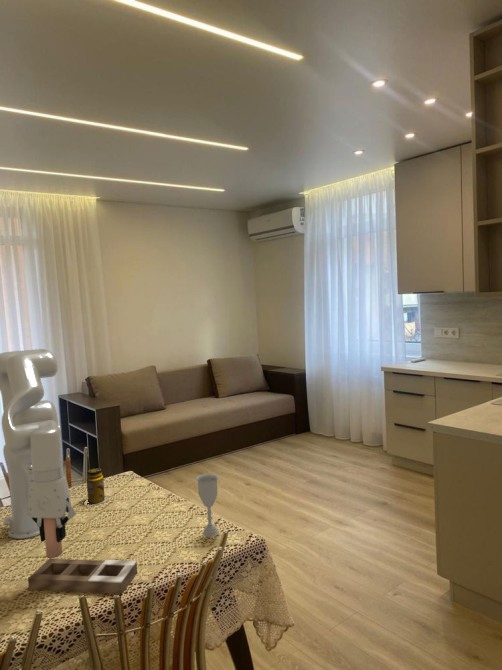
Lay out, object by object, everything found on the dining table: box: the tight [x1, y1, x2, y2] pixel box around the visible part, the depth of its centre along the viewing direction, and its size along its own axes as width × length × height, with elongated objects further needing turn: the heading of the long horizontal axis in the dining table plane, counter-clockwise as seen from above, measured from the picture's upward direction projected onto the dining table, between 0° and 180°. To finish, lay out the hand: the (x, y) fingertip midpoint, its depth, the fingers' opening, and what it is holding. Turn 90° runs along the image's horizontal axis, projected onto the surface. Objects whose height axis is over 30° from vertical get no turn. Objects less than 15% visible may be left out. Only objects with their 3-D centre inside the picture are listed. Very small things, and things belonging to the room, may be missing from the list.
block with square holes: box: [27, 558, 138, 595], centre depth 133 cm, size 26×10×3 cm, turn 81°
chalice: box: [195, 473, 219, 538], centre depth 156 cm, size 7×7×18 cm
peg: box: [43, 518, 63, 559], centre depth 133 cm, size 4×4×12 cm
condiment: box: [79, 467, 109, 508], centre depth 186 cm, size 7×8×12 cm
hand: (53, 538), depth 134 cm, fingers closed on peg, 4 cm apart
